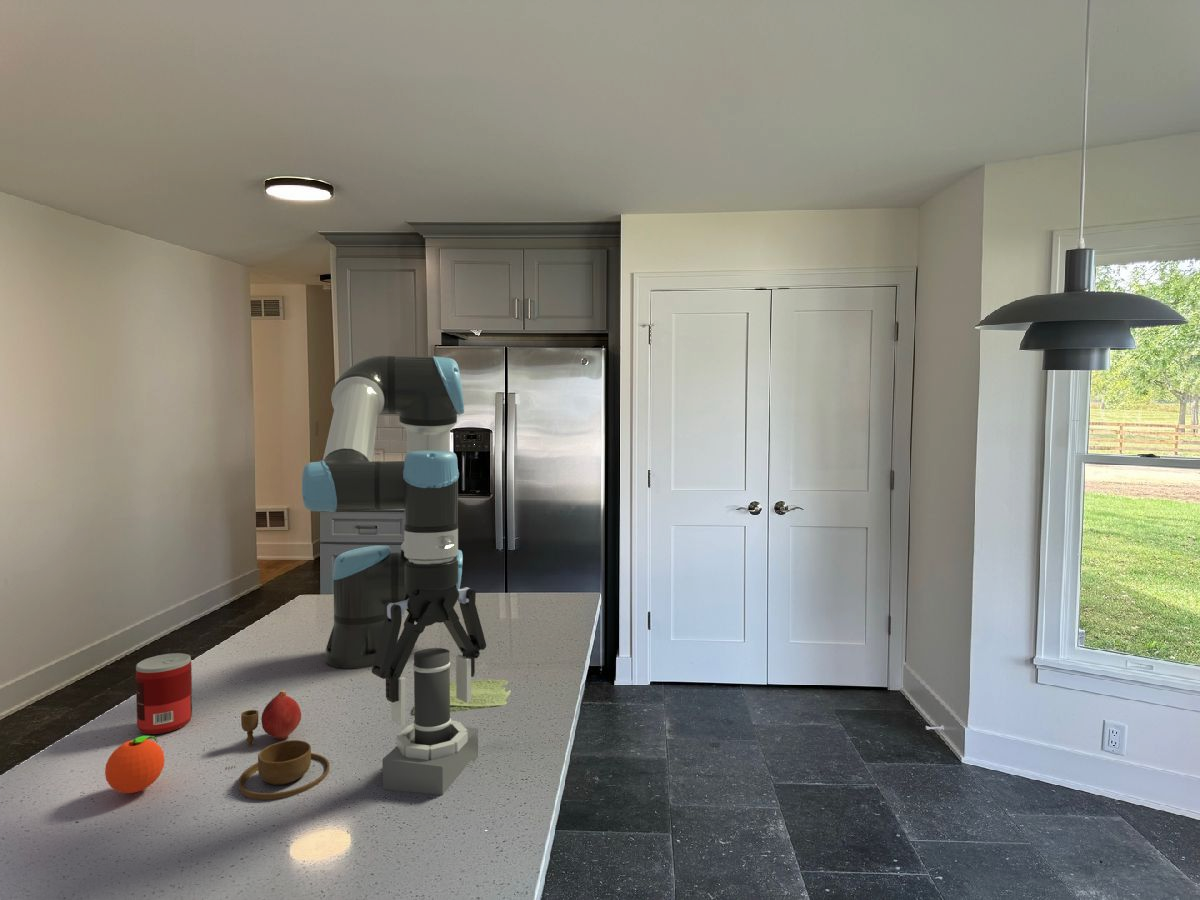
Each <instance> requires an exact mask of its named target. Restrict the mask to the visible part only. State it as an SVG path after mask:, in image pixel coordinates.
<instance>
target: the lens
mask: <svg viewBox="0 0 1200 900" xmlns="http://www.w3.org/2000/svg"><path fill="white" fill-rule="evenodd" d="M412 666H413V667H412V669H413V680H414V682H413V686H414V687H413V690H414V692H413V693H414V707H413V709H414V708H415V714H414V721H413V724H414V727H415V744H421V745H429V746H431V745H435V744H439V743H443V742H447V741H450V724H451V720H452V719H451V712H450V682H451V679H450V667H451V660H450V650H449V649H446V648H444V647H442V648H441V647H430V648H424V649H419V650H417V651H415V652H414V653H413V665H412Z"/></svg>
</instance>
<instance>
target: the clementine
mask: <svg viewBox="0 0 1200 900" xmlns="http://www.w3.org/2000/svg"><path fill="white" fill-rule="evenodd" d="M148 738H152V739H153V740H151V739H148ZM164 755H165V754H164V750H163V748H162V747H161V745H159V744H158V741H157V738H156V736H154V735H142V736H137V737H136V738H134V739H130V740H128V741H126V742H124V743H122V744H121V745H119V746H118V747H117V748H116V749H114V751H113V752H112V753H111V755H109V757H108V759H107V761H106V764H105V770H104V775H105V780H106V782H107V783H108V785H109V787H110V788H112V789H113V790H114V791H116V792H119V793H122V794H123V793H124V794H133V793H137V792H140V791H143V790H146V789H147V788H149V786H151V785H152V784H154V783H155V782H156V781H157V779H158V778H159V777H160V775H161V773H162V771H163V768H164V766H165V756H164Z"/></svg>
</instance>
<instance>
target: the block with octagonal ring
mask: <svg viewBox="0 0 1200 900" xmlns="http://www.w3.org/2000/svg"><path fill="white" fill-rule="evenodd" d="M477 758H478V759H479V728H478V727H469V726H464V724H462V723H461V721H457V720H453V719H451V724H450V741H447V742H443V743H439V744H435V745H431V746H429V745H421V744H415V727H414V723H411V724H409V725H407V726H406V727H405V728H404V729H402V731H400V732H399V733H398V734H397V735H396V746H395V747H394V748H393V749H392V750H391V751H390V752H389V753H387V754H386V755H385V756H384V757H383V758H382V790H391V791H392V790H393V791H402V792H409V793H410V792H412V793H419V794H420V793H421V794H429V795H438V796H443V795H444V794H445V793H446V792H447V791H448V789H449V788H450V787H451V785H453V783H454V782H455V781H456V780H457V779H458V777H459V776H460V775H461V773H462V772H463V771H464V770H465V769H466V768H467V766H468V765H469V764H470V763H471V761H472V762H473V763H474V762H475V760H476V759H477Z"/></svg>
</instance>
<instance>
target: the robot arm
mask: <svg viewBox="0 0 1200 900" xmlns="http://www.w3.org/2000/svg"><path fill="white" fill-rule="evenodd" d="M460 372H461V371H460V368H459V365H458V363H457V361H456V360H455V359H454V358H450V357H442V356H434V355H433V356H431V355H430V356H429V355H428V356H427V355H424V356H423V355H419V356H418V355H416V356H415V355H382V354H381V355H376V356H371V357H367V358H364V359H362V360H360V361H358V362H356V363H355V364H353V365H351V366H350V367H348V369H346V370H345V371H344V372H343V373H342V374H341V375H340V376H339V378H338V379H336V381H335V383H334V386H333V388H332V392H331V397H330V398H331V399H330V400H331V401H330V402H331V405H332V408H333V413H332V418H331V423H330V427H329V431H328V436H327V440H326V445H325V448H324V449H325V450H324V454H323V459H322V460H318V461H312V462H308V463H306V464H305V465H304V466H303V468H302V469H303V470H302V476H301V477H302V478H301V494H302V495H301V496H302V503H303V505H304V507H305V508H306V509H307V510H308V511H311V512H329V513H336V512H338V513H339V512H357V511H358V512H360V511H393V510H395V511H397V510H403V511H404V530H403V533H404V534H403V535H404V537H403V538H404V540H403V542H402V543H401V545H400V551H398V552H392V549H391V547H390V546H389V545H387V544H386V545H369V546H364V547H359V548H354V549H351V550H348V551H344V552H342V553H340V554H339V555H337V556H336V558H335V560H334V561H333V575H332V576H331V577H332V578H331V579H332V580H333V626H332V629H331V632H330V635H329V638H328V641H327V644H326V648H325V653H324V654H325V655H324V656H325V658H324V659H325V663H326V664H327V665H329V666H331V667H335V668H338V669H339V668H340V669H366V668H371V667H372V668H371V673H372V674H373V675H375V676H376V677H379V678H381V679H382V680H385V698H386V700H387V701H389V702H390V720H391V721H392V722H394V723H395V724H397V725H398V726H400V727H402V726H406V725H407V678H406V677H405V676H402V674H403V671H404V670H405V668H406V665H407V663H408V661H409V658H410V657H411V655H412V652H413V650H414V647H415V646H416V644H417V641H418V638H419V637H420V635H421V634H422V633H423V632H424V631H425V628H426V627H428V626H432V625H434V624H436V623H443V624H444V625H445V628H446V629H447V631H448V632H449V634H450V636H451V637H452V639H453V641H454V642H455V644H456V646H457V648H458V649H459V651H460V652H461V654H457V655H456V656H455V657H456V658H455V660H456V663H455V664H456V666H455V667H456V670H455V672H456V675H455V676H456V678H455V679H456V681H455V682H456V698H458V699H460V700H462V701H464V702H466V703H468V702H471V681H472V678H473V677H474V676H475V673H476V669H475V668H476V667H475V666H476V664H475V663H476V662H475V661H476V660H475V659H478V658H479V657H480V654H481V653H480V651H483V650H485V649H486V648H487V642H486V639H485V635H484V631H483V628H482V627H483V626H482V625H481V620H480V617H479V613H478V609H477V606H476V594H477V592H476V590H475V588H470V587H468V586H467V587H466V586H461V582H462V575H463V562H464V561H463V560H464V558H463V557H464V556H463V551H462V550H461V549H459V522H458V520H459V518H458V516H459V515H458V513H459V512H458V510H459V508H458V507H459V477H460V472H459V469H458V467H459V466H458V457H457V454H456V453H455V452H453V451H450V431H451V429H452V428H453V427H454V426H456V425H457V423H458V416H461V415H463V414H464V413H465V406H464V405H465V403H464V393H463V387H462V379H461V373H460ZM381 414H398V415H399V419H398V420H399V421H398V422H399V424H400V425H401V426H402V427H404V429H405V430H406V436H407V437H406V439H407V441H406V444H407V445H406V447H407V448H406V449H407V453H406V454H405V455H404V457H403V458H404V461H403V460H398V461H397V460H396V461H395V460H394V461H393V460H392V461H391V460H390V461H380V460H379V461H378V460H377V461H376V460H375V461H374V453H375V444H376V434H377V423H378V416H380V415H381ZM457 601H458V602H459V608H460V611H461V615H462V618H463V619H462V620H463V623H464V627H465V628H464V627H463V625H462V623H461V621H460V617H459V616H458V613H457V611H456V610H455V608H454V607H455V605H456V603H457ZM405 611H407V613H408V614H407V616H406V618H405V620H404V622H403V629H402V632H401V633H400V631H401V627H402V618H404V617H405ZM415 623H416V624H415ZM465 629H466V630H465ZM399 635H400V636H399Z"/></svg>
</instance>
